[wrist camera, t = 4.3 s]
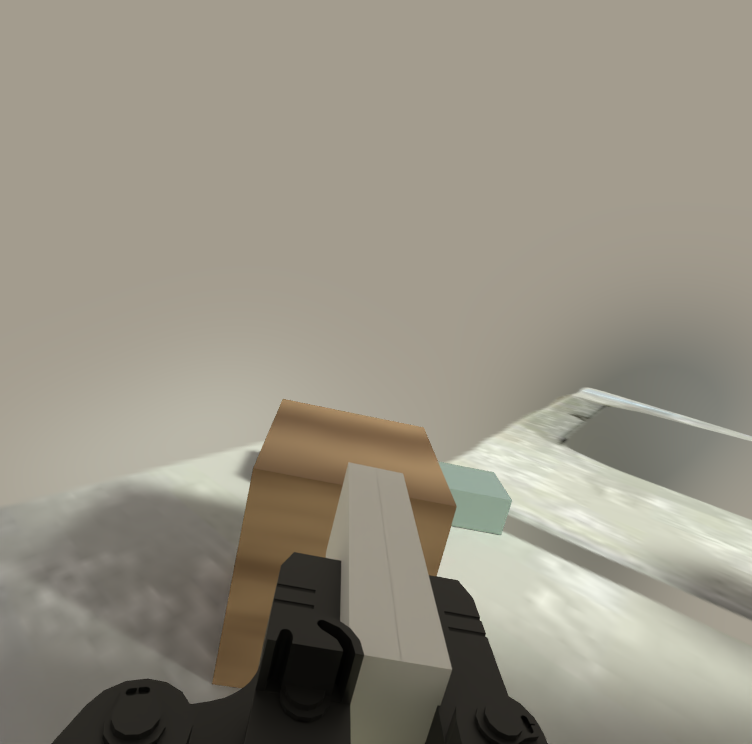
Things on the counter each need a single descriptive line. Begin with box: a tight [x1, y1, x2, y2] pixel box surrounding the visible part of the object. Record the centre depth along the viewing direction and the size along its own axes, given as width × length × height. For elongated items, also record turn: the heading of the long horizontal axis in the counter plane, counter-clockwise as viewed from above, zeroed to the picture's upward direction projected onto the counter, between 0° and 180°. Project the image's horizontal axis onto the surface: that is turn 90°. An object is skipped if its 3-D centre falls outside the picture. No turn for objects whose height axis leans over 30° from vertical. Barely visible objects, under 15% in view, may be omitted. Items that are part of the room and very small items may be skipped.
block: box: [212, 399, 457, 688], centre depth 25 cm, size 9×8×10 cm
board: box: [438, 462, 512, 535], centre depth 41 cm, size 5×18×3 cm, turn 93°
